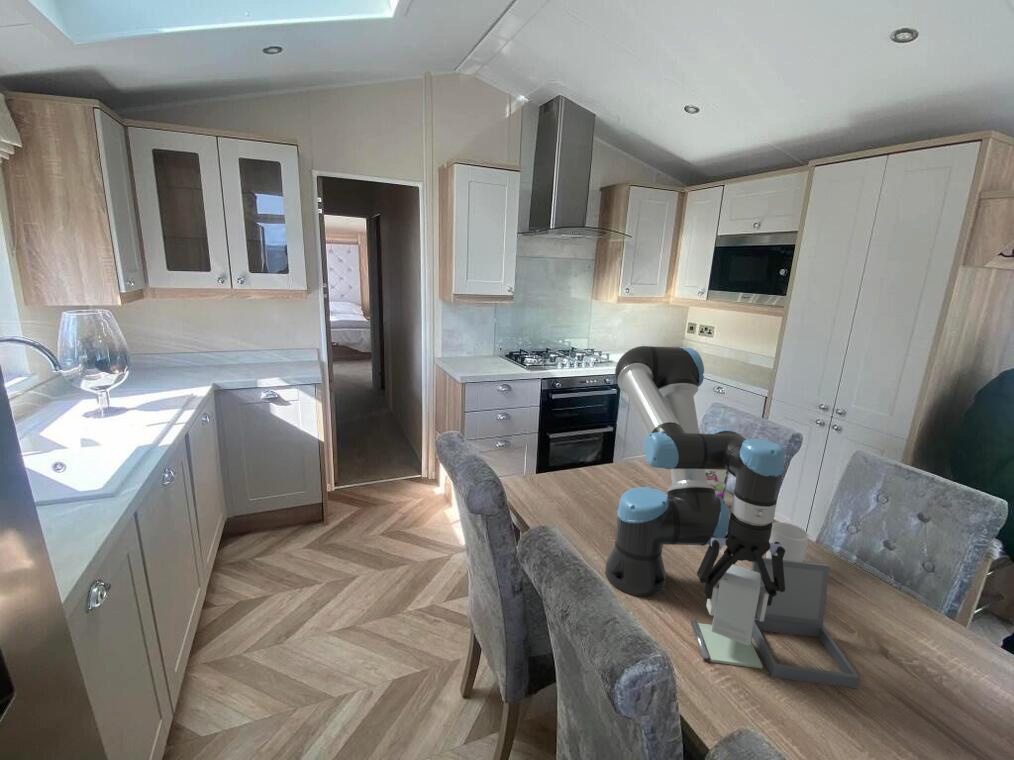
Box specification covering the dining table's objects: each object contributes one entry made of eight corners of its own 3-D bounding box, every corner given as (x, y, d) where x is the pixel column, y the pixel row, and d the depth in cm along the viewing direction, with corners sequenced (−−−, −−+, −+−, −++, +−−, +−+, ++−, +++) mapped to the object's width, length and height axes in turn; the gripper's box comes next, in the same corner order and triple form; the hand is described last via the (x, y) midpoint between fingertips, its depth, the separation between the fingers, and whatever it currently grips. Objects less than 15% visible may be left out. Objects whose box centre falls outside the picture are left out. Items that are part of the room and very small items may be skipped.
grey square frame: (772, 677, 92) (774, 666, 91) (747, 625, 105) (748, 616, 104) (857, 688, 90) (860, 678, 89) (820, 635, 103) (823, 625, 102)
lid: (754, 558, 103) (753, 556, 104) (749, 616, 104) (747, 614, 105) (829, 566, 101) (827, 564, 102) (823, 625, 102) (821, 623, 103)
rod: (702, 660, 95) (702, 655, 95) (689, 624, 105) (690, 619, 104) (709, 661, 95) (710, 655, 95) (696, 625, 105) (697, 620, 104)
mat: (710, 661, 95) (711, 659, 95) (697, 625, 105) (698, 623, 104) (762, 668, 94) (762, 666, 94) (744, 631, 103) (744, 629, 103)
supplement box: (749, 647, 93) (760, 593, 90) (710, 631, 97) (718, 579, 94) (752, 624, 99) (762, 572, 96) (715, 610, 103) (723, 560, 100)
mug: (818, 570, 126) (826, 535, 123) (783, 577, 122) (791, 541, 120) (791, 552, 134) (798, 519, 131) (758, 558, 130) (764, 524, 128)
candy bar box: (686, 503, 159) (692, 459, 155) (689, 498, 163) (695, 454, 159) (721, 513, 153) (728, 468, 150) (723, 507, 158) (730, 462, 154)
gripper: (699, 521, 89) (684, 620, 95) (820, 533, 87) (798, 634, 92) (689, 502, 97) (676, 595, 102) (801, 512, 94) (781, 607, 99)
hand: (734, 613), depth 97 cm, fingers closed on supplement box, 9 cm apart
